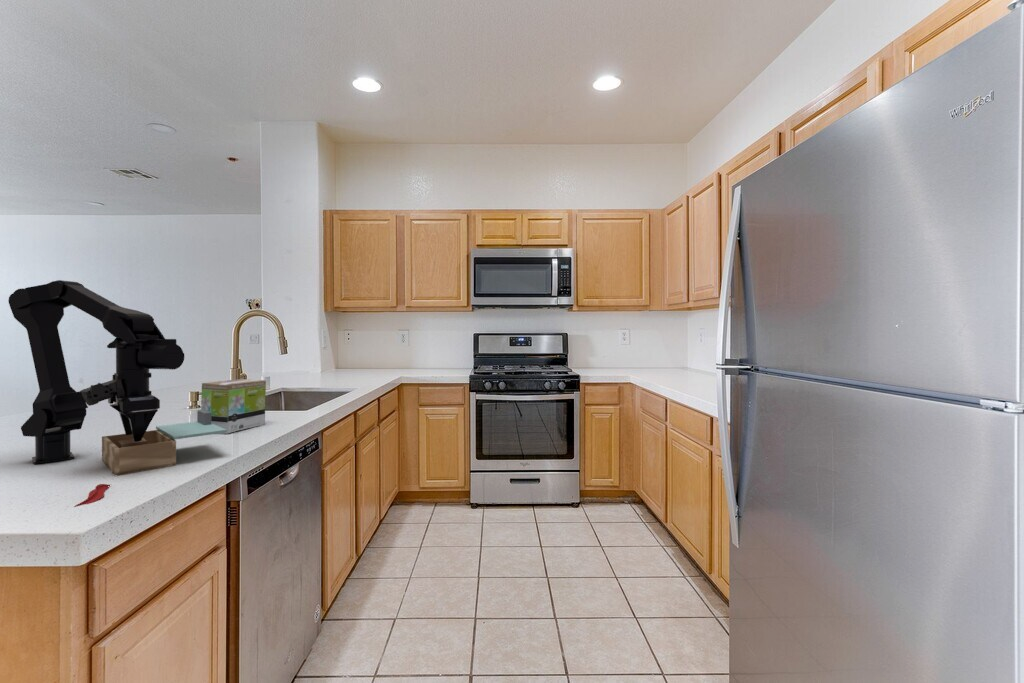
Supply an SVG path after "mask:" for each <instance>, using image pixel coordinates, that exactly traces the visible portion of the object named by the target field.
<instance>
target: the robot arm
mask: <svg viewBox="0 0 1024 683" xmlns="http://www.w3.org/2000/svg"><path fill="white" fill-rule="evenodd" d="M8 306H9V308H10V310H11V312H12V316H13V318H14V319H15V320H16V321H17V322H18V323H19V324H21V326H22V327H24V328H25V329H26V332H27V337H28V342H29V346H30V352H31V355H32V361H33V364H34V370H35V375H36V379H37V383H38V389H39V391H38V394H37V395H36V397H35V399H34V401H33V402H32V414H31V416H29V418H28V419H27V420H25V422H24V423H23V424H22V425H21V426H20V431H21V433H22V436H23V437H32V438H34V442H35V446H34V447H35V448H34V449H35V450H34V452H35V455H34V456H32V457H31V461H32V463H33V465H38V464H45V463H52V462H59V461H65V460H66V461H67V460H72V459H75V455H74V453H73V452H72V451H71V432H72V431H76V430H81V429H82V427H83V424H84V421H85V417H86V416H87V409H88V408H89V406H94V405H97V404H99V403H100V402H102V401H106V400H107V403H108V404H109V406H110V407H111V408H113V409H114V410H116V411H117V412H118V413H119V417H120V420H121V422H122V427H123V430H124V434H126V435H131V434H133V438H134V441H135V442H137V441H141V440H142V438H143V436H144V434H145V432H146V431H148V430H147V429H148V428H149V426H150V424H151V422H152V420H153V419H154V417H155V415H156V413H157V412H158V411H159V409H160V408H161V405H160V404H161V399H159V398H158V397H157V396H155V395H152V390H150V378H152V372H150V370H177V369H180V368H181V366H182V365H183V364H184V361H185V353H184V351H183V348H181V346H180V345H179V344H177V339H176V338H165V336H164V334H163V333H162V332H161V330H160V328H159V327H158V326H157V324H156V323H155V319H154V317H153V316H152V315H150V314H149V313H147V312H143V311H139V310H135V309H133V308H132V309H131V308H127V307H124V306H123V307H122V306H121V305H118V304H116V303H115V302H113V301H111V300H109V299H108V298H105V297H103V296H102V295H99V293H96V292H94V291H93V290H90V289H89V288H86V287H85V286H84V285H83V284H82V283H80V282H78V281H70V280H61V279H59V280H57V279H56V280H55V281H54V280H53V281H51V282H47V283H43V284H40V285H34V286H28V287H25V288H23V287H22V288H18V289H16V290H14V291H13V293H11V294H9V296H8ZM71 306H73V307H75V308H77V309H78V310H80V311H83V312H84V313H86V314H88V315H89V316H91V317H93V318H95V319H96V320H98V321H100V322H101V323H102V326H103V328H104V330H105V331H106V332H108V333H109V334H111V335H112V336H113V337H115V338H114V340H112V341H111V342H109V343H108V344H107V345H106V348H108V349H115V372H114V373H113V374H112V379H111V380H108V381H106V382H103V383H101V382H98V383H96V384H91V385H90V386H89V387H86V388H83V389H81V390H79V391H76V389H74V388H73V387H72V386H71V384H70V378H69V374H68V369H67V365H66V360H65V355H64V352H63V347H62V342H61V336H60V331H59V328H58V326H59V324H60V322H61V321H62V319H63V318H64V315H65V310H64V309H66V308H68V307H71Z"/></svg>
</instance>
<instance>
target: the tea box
mask: <svg viewBox="0 0 1024 683" xmlns="http://www.w3.org/2000/svg"><path fill="white" fill-rule="evenodd" d="M266 390H267V381H266V379H253V378H251V379H249V378H248V379H247V378H246V379H245V378H239V379H238V378H237V379H229V380H219V381H209V382H203V383H201V398H200V399H201V401H200V403H201V404H200V410H206V411H209V412H211V423H212V424H214V425H217V426H219V427H221V428H224V429H226V430H227V432H225V433H219V434H221V435H222V434H225V435H228V434H231V433H234V432H237V431H242V430H247V429H251V428H256V427H260V425H261V426H264V425H266V424H265V423H266V397H267V395H266Z"/></svg>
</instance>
